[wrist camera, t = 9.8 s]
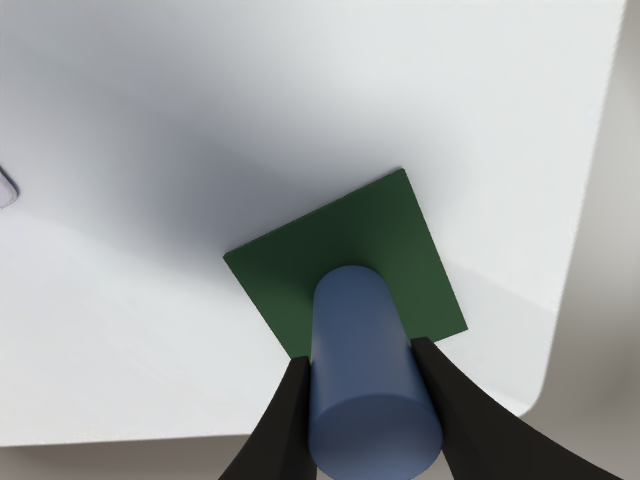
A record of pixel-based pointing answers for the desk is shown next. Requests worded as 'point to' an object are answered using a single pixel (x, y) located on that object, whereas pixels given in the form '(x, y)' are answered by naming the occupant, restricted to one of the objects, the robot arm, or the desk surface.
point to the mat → (350, 263)
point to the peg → (366, 385)
